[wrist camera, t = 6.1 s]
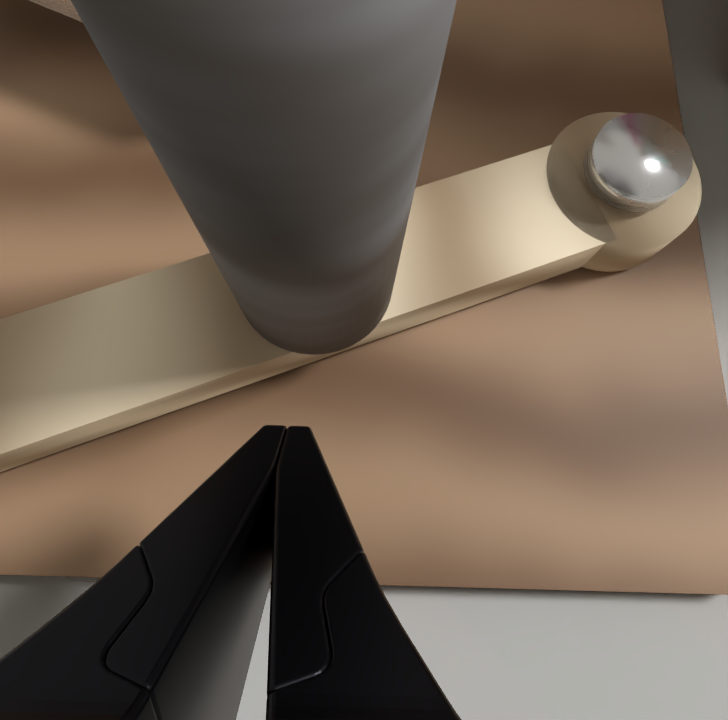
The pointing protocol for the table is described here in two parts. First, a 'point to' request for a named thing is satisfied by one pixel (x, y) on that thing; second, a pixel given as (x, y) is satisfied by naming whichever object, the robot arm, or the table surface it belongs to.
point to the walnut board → (397, 338)
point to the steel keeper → (605, 153)
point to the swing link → (297, 211)
